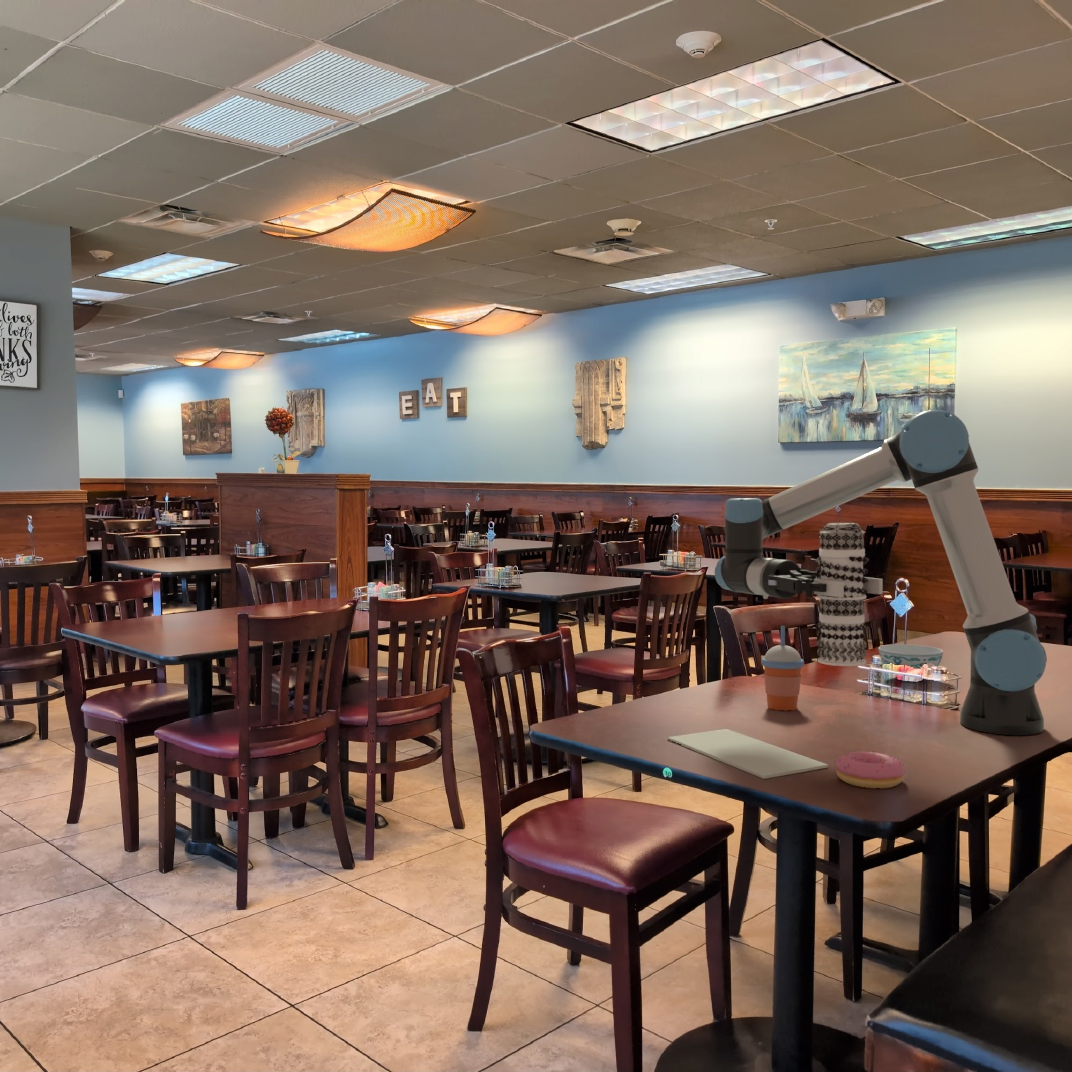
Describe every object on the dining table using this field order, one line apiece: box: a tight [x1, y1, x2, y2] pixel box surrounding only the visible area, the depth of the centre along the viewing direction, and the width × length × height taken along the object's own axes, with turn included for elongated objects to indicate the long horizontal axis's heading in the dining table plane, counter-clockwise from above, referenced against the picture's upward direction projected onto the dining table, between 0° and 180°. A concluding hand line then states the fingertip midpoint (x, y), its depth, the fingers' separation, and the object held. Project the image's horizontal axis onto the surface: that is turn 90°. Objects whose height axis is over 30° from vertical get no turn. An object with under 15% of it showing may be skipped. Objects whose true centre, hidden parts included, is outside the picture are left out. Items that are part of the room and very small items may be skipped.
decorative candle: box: [814, 522, 870, 667], centre depth 174 cm, size 9×9×25 cm
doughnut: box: [833, 751, 906, 789], centre depth 160 cm, size 11×11×4 cm
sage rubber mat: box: [667, 728, 829, 779], centre depth 176 cm, size 28×14×1 cm, turn 27°
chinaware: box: [878, 643, 944, 668], centre depth 242 cm, size 15×15×8 cm
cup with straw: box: [760, 625, 805, 712], centre depth 212 cm, size 9×9×18 cm
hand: (861, 588), depth 170 cm, fingers closed on decorative candle, 8 cm apart
